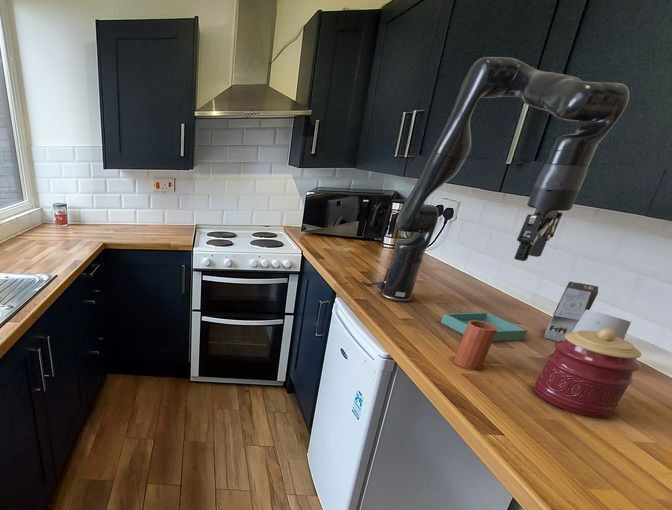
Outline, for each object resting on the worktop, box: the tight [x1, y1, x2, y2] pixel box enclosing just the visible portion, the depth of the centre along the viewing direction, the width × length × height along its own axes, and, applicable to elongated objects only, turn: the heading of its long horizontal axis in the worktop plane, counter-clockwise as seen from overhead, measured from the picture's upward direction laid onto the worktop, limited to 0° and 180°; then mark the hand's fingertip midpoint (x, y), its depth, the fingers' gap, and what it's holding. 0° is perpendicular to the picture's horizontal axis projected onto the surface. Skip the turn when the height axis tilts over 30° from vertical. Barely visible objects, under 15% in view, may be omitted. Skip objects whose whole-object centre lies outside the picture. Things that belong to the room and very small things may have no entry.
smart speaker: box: [572, 309, 632, 340], centre depth 104 cm, size 10×9×14 cm
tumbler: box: [453, 320, 497, 371], centre depth 101 cm, size 6×6×11 cm
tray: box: [440, 311, 528, 342], centre depth 122 cm, size 14×16×3 cm
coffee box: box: [543, 281, 599, 342], centre depth 117 cm, size 9×6×16 cm
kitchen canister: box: [534, 328, 642, 418], centre depth 85 cm, size 13×13×18 cm
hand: (527, 258), depth 95 cm, fingers open, 8 cm apart
